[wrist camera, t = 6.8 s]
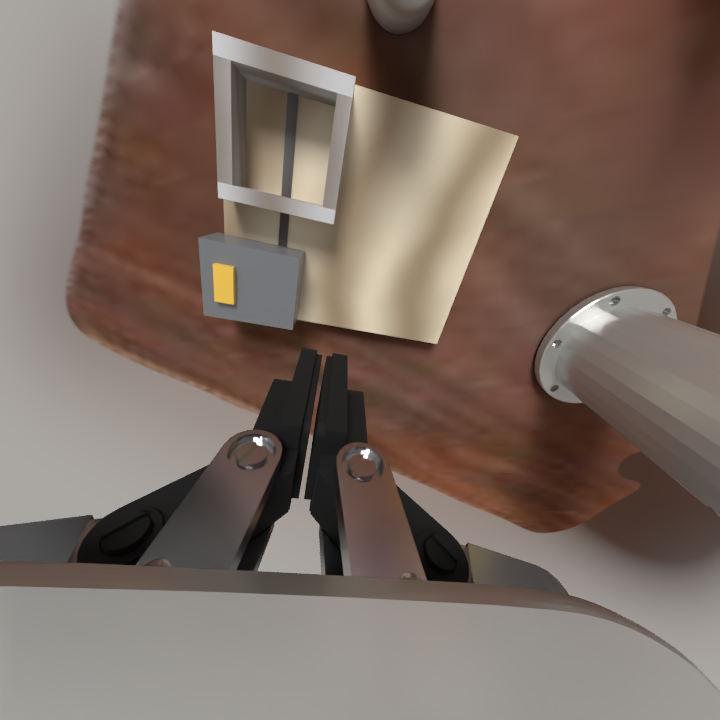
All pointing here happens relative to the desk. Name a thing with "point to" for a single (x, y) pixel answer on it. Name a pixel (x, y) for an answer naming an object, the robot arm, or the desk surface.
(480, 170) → the panel
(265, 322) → the block
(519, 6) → the desk surface
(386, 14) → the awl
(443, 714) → the robot arm
